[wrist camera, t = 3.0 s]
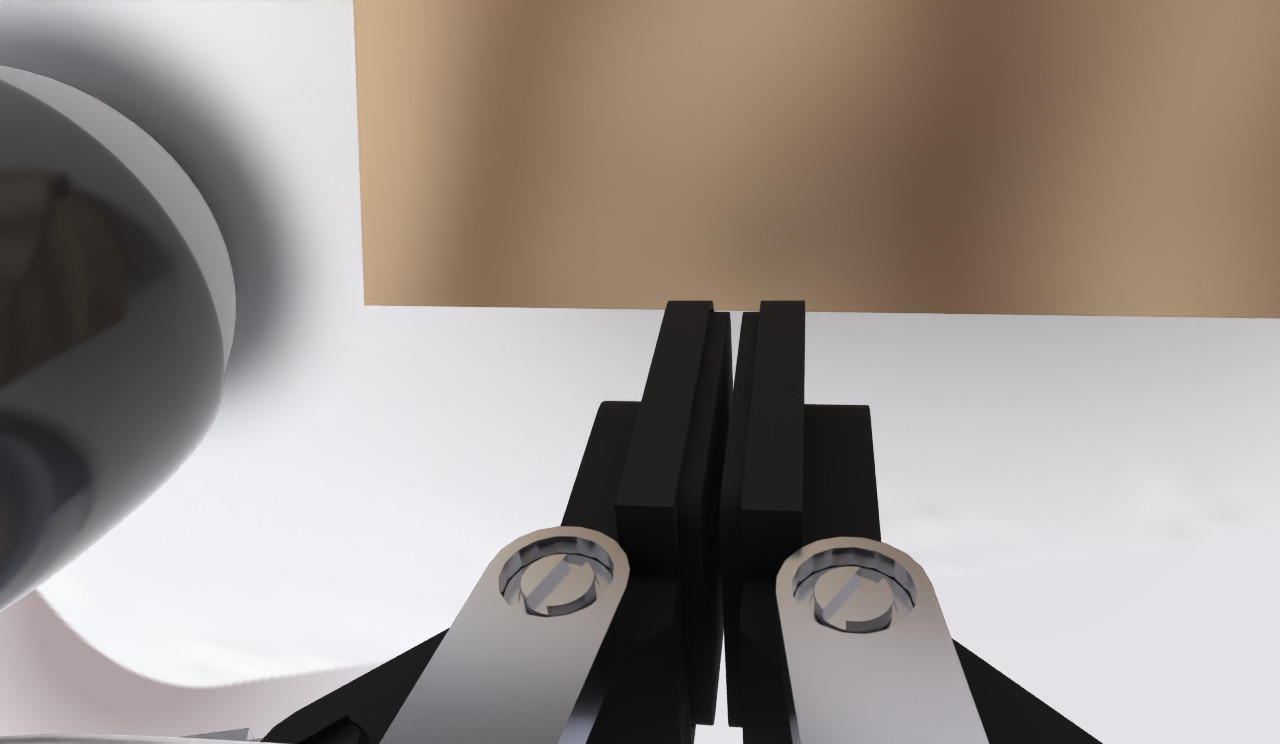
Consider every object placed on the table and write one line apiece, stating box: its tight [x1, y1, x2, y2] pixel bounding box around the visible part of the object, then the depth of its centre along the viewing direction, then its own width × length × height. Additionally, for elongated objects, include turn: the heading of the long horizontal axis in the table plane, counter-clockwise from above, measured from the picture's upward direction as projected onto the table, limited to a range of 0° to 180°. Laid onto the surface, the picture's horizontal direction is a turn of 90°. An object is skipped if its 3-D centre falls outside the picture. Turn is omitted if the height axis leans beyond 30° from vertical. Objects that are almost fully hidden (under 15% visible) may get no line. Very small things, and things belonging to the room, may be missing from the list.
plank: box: [353, 0, 1280, 318], centre depth 16 cm, size 22×8×1 cm, turn 94°
